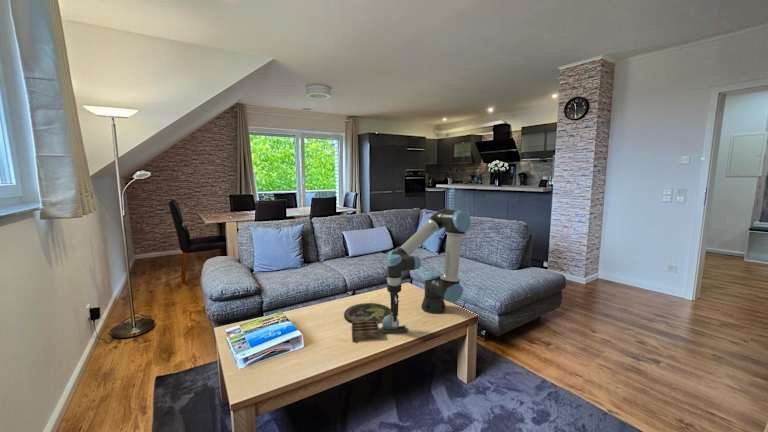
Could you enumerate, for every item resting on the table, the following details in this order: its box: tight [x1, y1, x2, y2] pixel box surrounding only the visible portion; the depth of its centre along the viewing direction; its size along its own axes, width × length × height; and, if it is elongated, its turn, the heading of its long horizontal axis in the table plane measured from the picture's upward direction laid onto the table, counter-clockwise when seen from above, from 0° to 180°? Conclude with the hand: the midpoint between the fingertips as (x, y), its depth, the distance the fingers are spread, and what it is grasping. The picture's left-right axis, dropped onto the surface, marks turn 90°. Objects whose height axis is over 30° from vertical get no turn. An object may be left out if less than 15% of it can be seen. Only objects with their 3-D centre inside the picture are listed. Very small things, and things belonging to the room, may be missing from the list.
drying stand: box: [381, 324, 408, 335], centre depth 177 cm, size 13×6×2 cm, turn 98°
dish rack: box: [351, 321, 380, 343], centre depth 173 cm, size 14×12×5 cm
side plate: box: [381, 315, 400, 330], centre depth 176 cm, size 9×2×9 cm, turn 97°
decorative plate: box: [343, 302, 392, 324], centre depth 199 cm, size 30×2×30 cm
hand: (394, 325), depth 176 cm, fingers closed on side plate, 1 cm apart
